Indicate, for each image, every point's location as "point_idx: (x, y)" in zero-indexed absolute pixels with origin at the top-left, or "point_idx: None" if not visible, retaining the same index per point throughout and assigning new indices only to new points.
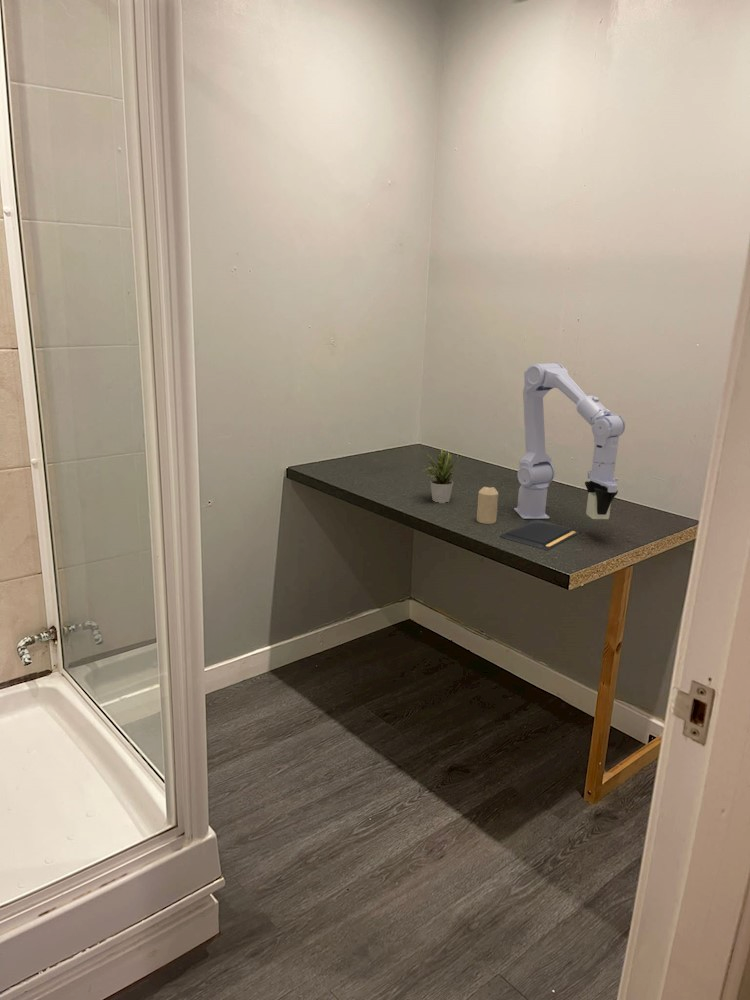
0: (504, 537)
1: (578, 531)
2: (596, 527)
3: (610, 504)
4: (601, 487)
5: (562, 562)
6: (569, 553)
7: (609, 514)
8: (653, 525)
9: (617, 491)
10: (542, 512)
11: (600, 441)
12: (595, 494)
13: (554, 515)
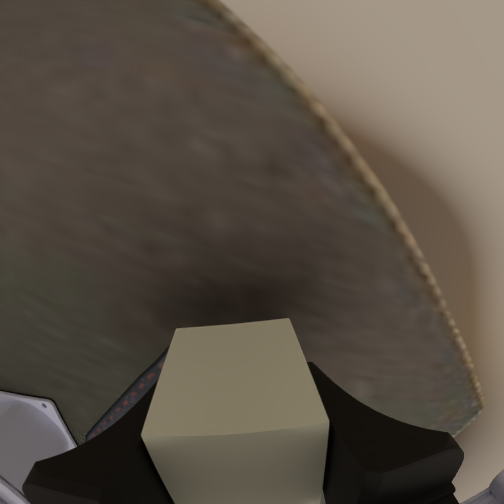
0: None
1: (164, 356)
2: (88, 260)
3: (310, 377)
4: (135, 495)
5: (434, 425)
6: (386, 413)
7: (294, 332)
8: (62, 12)
9: (459, 448)
10: (46, 428)
11: None
12: (237, 502)
13: (10, 367)
